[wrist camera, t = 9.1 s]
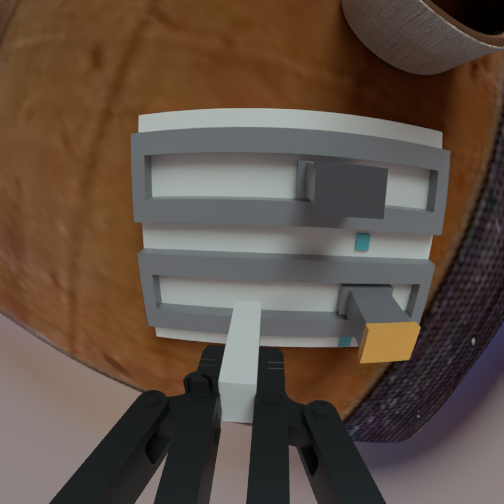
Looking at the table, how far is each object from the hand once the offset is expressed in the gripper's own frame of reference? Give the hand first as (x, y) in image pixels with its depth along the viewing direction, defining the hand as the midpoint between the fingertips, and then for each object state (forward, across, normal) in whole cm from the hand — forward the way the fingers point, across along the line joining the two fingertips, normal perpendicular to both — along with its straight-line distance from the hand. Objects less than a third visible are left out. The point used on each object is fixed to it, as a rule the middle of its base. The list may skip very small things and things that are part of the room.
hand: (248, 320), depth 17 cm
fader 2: (+4, +8, -1) cm, 10 cm away
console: (+7, +3, +3) cm, 8 cm away
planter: (+7, +12, +22) cm, 26 cm away
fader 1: (+4, +5, +8) cm, 10 cm away
